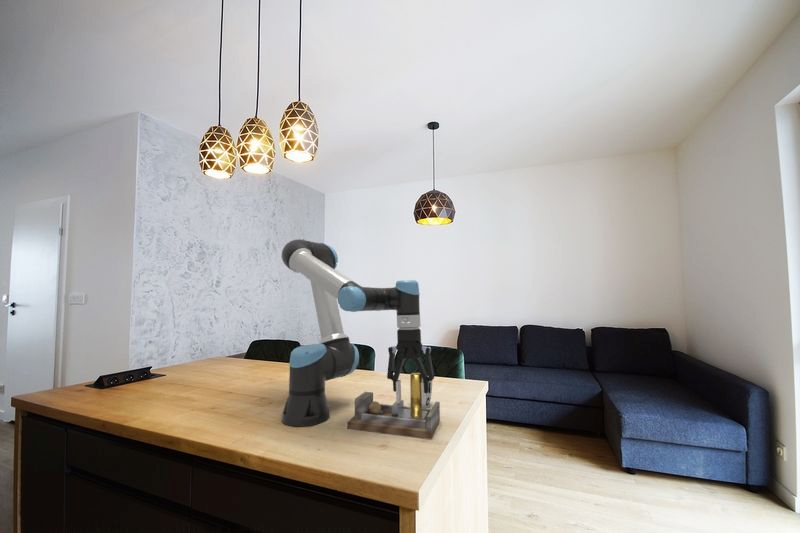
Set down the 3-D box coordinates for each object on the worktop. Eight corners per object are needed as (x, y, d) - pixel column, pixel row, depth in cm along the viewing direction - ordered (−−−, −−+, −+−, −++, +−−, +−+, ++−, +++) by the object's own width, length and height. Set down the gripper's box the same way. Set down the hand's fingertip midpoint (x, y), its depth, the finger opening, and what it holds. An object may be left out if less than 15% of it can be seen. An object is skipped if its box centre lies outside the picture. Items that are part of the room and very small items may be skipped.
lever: (390, 421, 95) (391, 375, 97) (398, 413, 103) (398, 370, 104) (423, 425, 92) (422, 377, 94) (428, 416, 100) (428, 372, 101)
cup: (431, 410, 112) (431, 381, 113) (409, 408, 113) (409, 380, 115) (433, 403, 120) (433, 376, 121) (412, 401, 121) (412, 375, 122)
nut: (366, 416, 100) (366, 402, 100) (371, 411, 103) (371, 399, 104) (378, 417, 99) (378, 404, 99) (382, 413, 102) (382, 400, 103)
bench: (347, 428, 96) (347, 401, 97) (365, 413, 109) (365, 389, 110) (431, 439, 88) (430, 409, 89) (439, 421, 102) (439, 395, 103)
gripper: (374, 329, 100) (376, 404, 97) (438, 329, 94) (441, 409, 91) (383, 327, 107) (384, 397, 104) (442, 327, 101) (445, 401, 99)
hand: (411, 402), depth 98 cm, fingers open, 7 cm apart
